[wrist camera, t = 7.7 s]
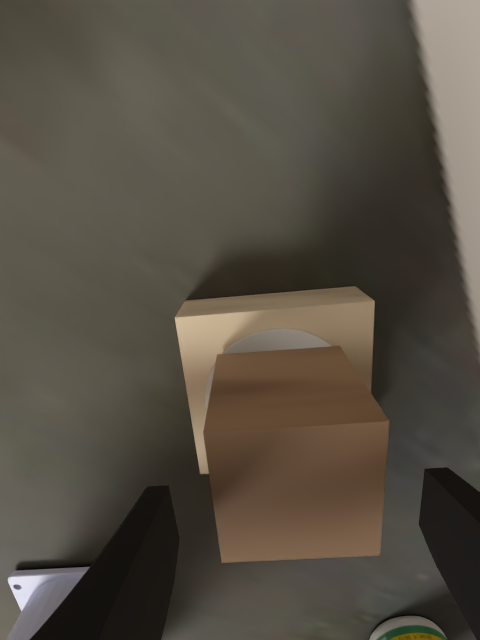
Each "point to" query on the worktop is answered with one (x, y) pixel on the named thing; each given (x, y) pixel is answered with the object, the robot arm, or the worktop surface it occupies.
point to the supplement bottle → (408, 629)
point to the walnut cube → (295, 456)
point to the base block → (269, 335)
